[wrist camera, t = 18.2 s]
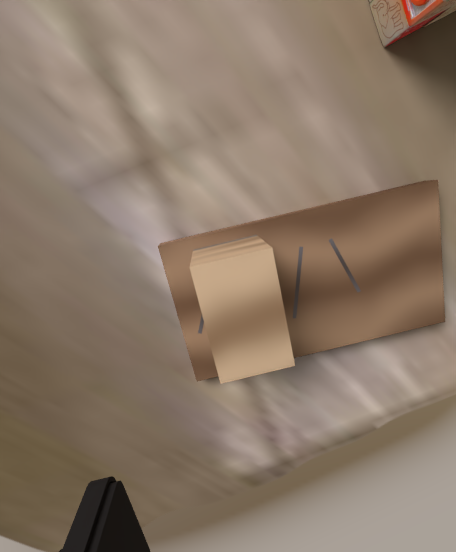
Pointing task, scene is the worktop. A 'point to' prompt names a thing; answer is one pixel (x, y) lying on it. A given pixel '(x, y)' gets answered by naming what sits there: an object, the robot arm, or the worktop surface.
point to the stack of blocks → (407, 16)
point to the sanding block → (242, 307)
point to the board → (333, 270)
